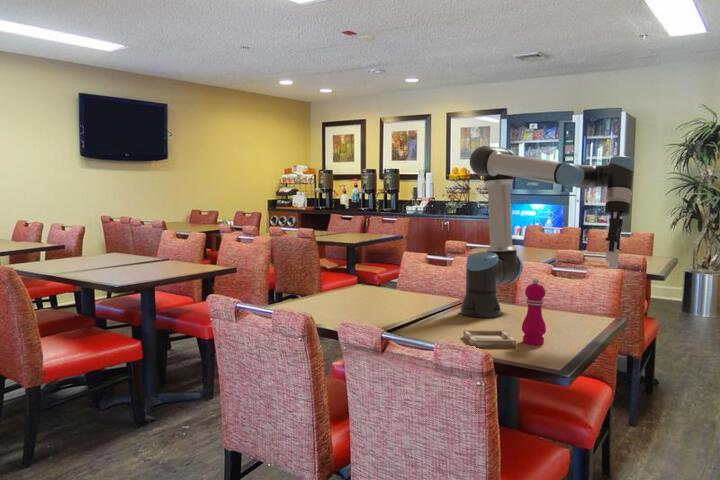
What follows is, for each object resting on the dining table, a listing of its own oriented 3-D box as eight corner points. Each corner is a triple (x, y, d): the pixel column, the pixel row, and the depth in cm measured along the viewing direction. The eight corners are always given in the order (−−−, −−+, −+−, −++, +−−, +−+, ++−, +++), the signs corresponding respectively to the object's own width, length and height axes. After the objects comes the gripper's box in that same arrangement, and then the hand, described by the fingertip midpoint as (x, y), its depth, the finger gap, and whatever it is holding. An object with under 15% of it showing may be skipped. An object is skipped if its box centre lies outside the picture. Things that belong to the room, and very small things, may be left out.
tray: (463, 336, 183) (463, 330, 183) (503, 337, 183) (503, 330, 183) (472, 347, 170) (473, 340, 170) (515, 347, 171) (516, 340, 170)
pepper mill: (517, 339, 181) (520, 277, 179) (539, 339, 181) (542, 277, 180) (526, 345, 173) (528, 280, 172) (549, 345, 174) (552, 280, 172)
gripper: (628, 193, 177) (622, 260, 174) (631, 211, 199) (625, 271, 196) (602, 192, 180) (596, 258, 178) (608, 210, 202) (602, 269, 199)
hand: (611, 265), depth 187 cm, fingers open, 13 cm apart
